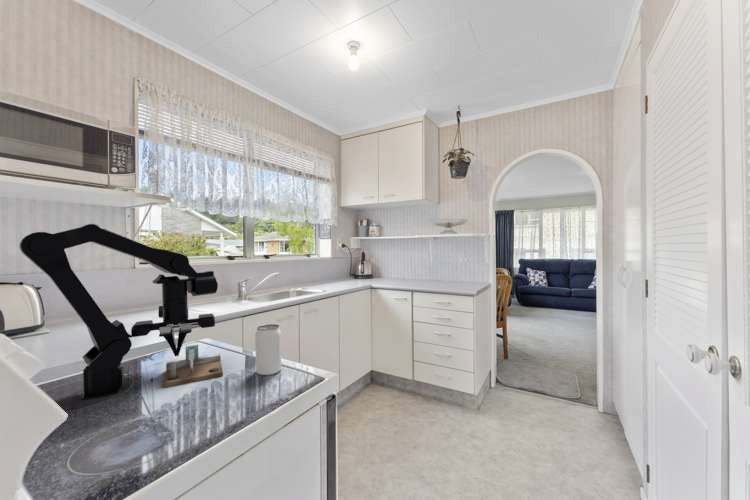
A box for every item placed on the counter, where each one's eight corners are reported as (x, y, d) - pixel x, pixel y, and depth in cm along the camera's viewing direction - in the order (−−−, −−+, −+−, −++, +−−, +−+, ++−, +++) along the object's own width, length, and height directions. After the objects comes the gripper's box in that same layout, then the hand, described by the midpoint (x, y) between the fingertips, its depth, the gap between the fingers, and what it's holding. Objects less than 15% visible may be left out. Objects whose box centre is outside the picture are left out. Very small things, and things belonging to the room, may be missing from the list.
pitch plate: (162, 387, 75) (162, 369, 75) (167, 370, 86) (166, 354, 85) (222, 376, 81) (222, 358, 81) (220, 361, 92) (219, 346, 92)
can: (256, 368, 86) (256, 325, 86) (281, 365, 88) (280, 323, 88) (255, 377, 80) (254, 331, 80) (281, 374, 82) (280, 328, 82)
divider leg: (184, 374, 79) (184, 357, 79) (186, 361, 88) (185, 346, 88) (198, 371, 81) (198, 355, 81) (198, 359, 89) (198, 344, 89)
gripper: (212, 291, 97) (213, 342, 97) (137, 298, 87) (139, 353, 88) (214, 296, 87) (215, 352, 87) (129, 304, 78) (132, 366, 78)
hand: (176, 355), depth 85 cm, fingers closed
